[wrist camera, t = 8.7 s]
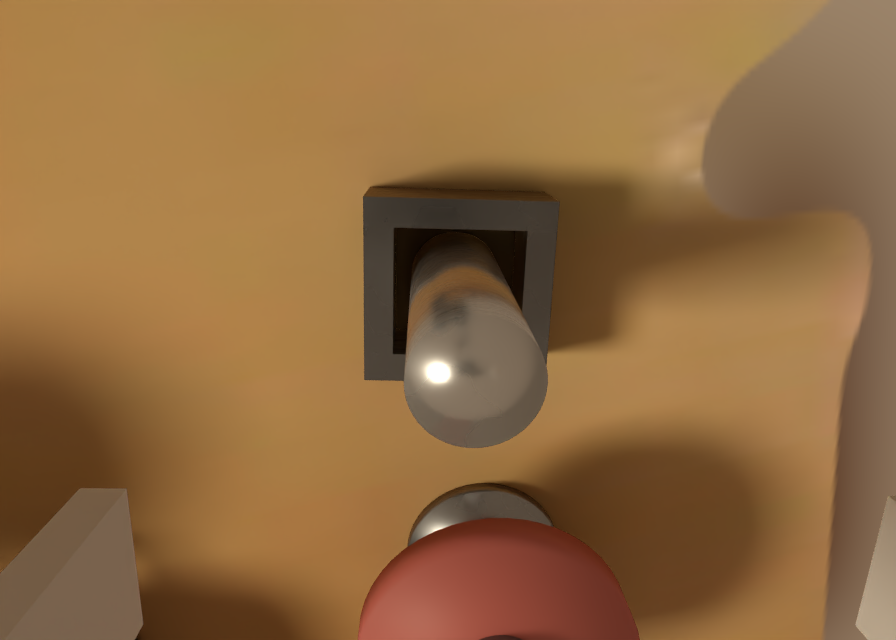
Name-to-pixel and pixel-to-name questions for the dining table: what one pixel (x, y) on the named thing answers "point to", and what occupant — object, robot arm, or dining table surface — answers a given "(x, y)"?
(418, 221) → the collar
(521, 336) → the peg
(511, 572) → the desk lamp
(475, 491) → the silver curved piece
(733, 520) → the dining table surface
